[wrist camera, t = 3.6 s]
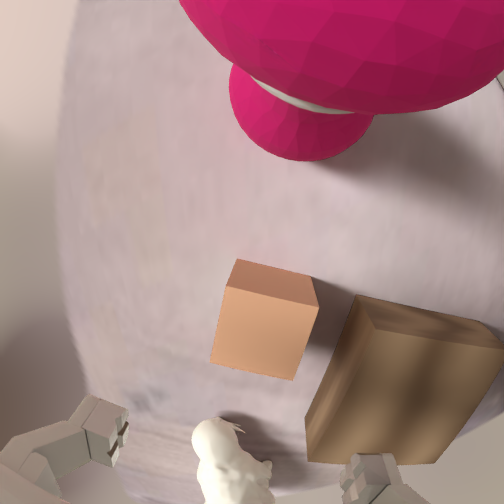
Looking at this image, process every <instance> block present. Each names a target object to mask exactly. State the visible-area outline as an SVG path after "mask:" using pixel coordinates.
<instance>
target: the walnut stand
mask: <svg viewBox="0 0 504 504" xmlns="http://www.w3.org/2000/svg"><path fill="white" fill-rule="evenodd" d="M503 363H504V344H503V343H502V342H501V341H500V340H499V339H498V338H497V337H496V336H495V335H494V334H492V333H491V332H490V331H489V330H488V329H487V328H486V327H485V326H484V325H483V324H482V323H481V322H480V321H476V320H471V319H466V318H461V317H457V316H452V315H447V314H443V313H438V312H433V311H429V310H424V309H419V308H415V307H410V306H406V305H401V304H397V303H392V302H388V301H383V300H379V299H374V298H370V297H365V296H361V295H357V294H356V297H355V299H354V302H353V305H352V308H351V310H350V313H349V316H348V318H347V321H346V324H345V326H344V329H343V331H342V334H341V336H340V339H339V341H338V344H337V346H336V349H335V351H334V354H333V356H332V359H331V361H330V363H329V366H328V368H327V370H326V373H325V375H324V377H323V379H322V382H321V384H320V386H319V388H318V391H317V393H316V395H315V397H314V399H313V402H312V404H311V406H310V408H309V410H308V412H307V414H306V416H305V429H306V443H307V458H308V462H318V463H330V464H346V465H347V464H349V463H351V460H350V458H351V457H352V455H353V454H355V453H392V454H393V456H394V458H395V461H396V464H397V465H416V464H431V463H435V462H436V461H437V460H438V458H439V457H440V456H441V455H442V454H443V452H444V451H445V450H446V449H447V447H448V446H449V445H450V443H451V442H452V441H453V440H454V438H455V437H456V436H457V435H458V433H459V432H460V431H461V429H462V428H463V426H464V425H465V424H466V422H467V421H468V419H469V418H470V417H471V415H472V414H473V412H474V411H475V409H476V408H477V406H478V405H479V403H480V402H481V400H482V399H483V397H484V396H485V394H486V392H487V391H488V389H489V388H490V386H491V384H492V383H493V381H494V379H495V378H496V376H497V374H498V372H499V371H500V369H501V367H502V365H503Z"/></svg>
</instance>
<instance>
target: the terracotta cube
mask: <svg viewBox="0 0 504 504" xmlns="http://www.w3.org/2000/svg"><path fill="white" fill-rule="evenodd" d="M318 310H319V305H318V301H317V297H316V294H315V290H314V287H313V283H312V280H311V276H307V275H303V274H299V273H295V272H291V271H286V270H282V269H278V268H274V267H270V266H266V265H261V264H257V263H253V262H249V261H245V260H241V259H237V260H236V262H235V265H234V267H233V270H232V272H231V274H230V277H229V279H228V282H227V284H226V287H225V292H224V297H223V301H222V306H221V311H220V315H219V320H218V325H217V330H216V334H215V339H214V344H213V349H212V354H211V358H210V363H214V364H218V365H222V366H226V367H230V368H235V369H239V370H243V371H248V372H252V373H257V374H261V375H266V376H271V377H276V378H281V379H286V380H292V381H293V379H294V376H295V374H296V371H297V368H298V366H299V363H300V361H301V358H302V355H303V352H304V350H305V347H306V344H307V342H308V339H309V336H310V333H311V330H312V327H313V325H314V322H315V319H316V316H317V313H318Z"/></svg>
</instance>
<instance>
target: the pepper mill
mask: <svg viewBox="0 0 504 504" xmlns="http://www.w3.org/2000/svg"><path fill="white" fill-rule="evenodd" d="M179 2H180V4H181V6H182V7H183V9H184V10H185V12H186V14H187V15H188V17H189V18H190V20H191V21H192V22H193V23H194V25H195V26H196V27H197V28H198V29H199V31H200V32H201V33H202V34H203V36H204V37H205V38H206V39H207V40H208V41H209V42H210V43H211V44H212V45H213V46H214V47H215V49H216V50H217V51H218V52H219V53H220V54H221V55H222V56H224V57H225V58H227V59H228V60H229V61H231V62H232V63H234V64H233V66H232V69H231V73H230V78H229V93H230V100H231V104H232V108H233V111H234V115H235V117H236V119H237V121H238V123H239V125H240V127H241V128H242V129H243V130H244V132H245V133H246V134H247V135H248V137H249V138H250V139H251V140H253V141H254V142H255V143H256V144H257V145H258V146H260V147H261V148H263V149H264V150H266V151H267V152H270V153H272V154H274V155H276V156H278V157H282V158H285V159H288V160H295V161H317V160H323V159H326V158H329V157H333V156H335V155H337V154H339V153H341V152H343V151H344V150H346V149H347V148H349V147H350V146H351V145H353V144H354V143H355V142H357V141H358V140H359V139H360V138H361V137H362V136H363V134H364V133H365V132H366V130H367V129H368V127H369V126H370V124H371V122H372V119H373V116H374V115H377V114H394V113H408V112H417V111H424V110H431V109H437V108H439V107H442V106H444V105H447V104H449V103H452V102H454V101H457V100H459V99H462V98H464V97H467V96H469V95H471V94H472V93H474V92H476V91H477V90H479V89H481V88H482V87H484V86H486V85H487V84H489V83H490V82H491V81H492V80H493V79H494V78H495V77H496V76H498V75H499V74H500V73H501V72H502V71H503V70H504V0H179Z"/></svg>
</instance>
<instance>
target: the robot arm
mask: <svg viewBox="0 0 504 504" xmlns="http://www.w3.org/2000/svg"><path fill="white" fill-rule="evenodd" d="M128 416H129V415H128V409H126V408H123V407H121V406H118V405H115V404H113V403H110V402H108V401H106V400H103V399H101V398H98V397H96V396H93V395H91V394H89V395H87V396H86V397H85V398H84V399H83V401H82V402H81V404H80V405H79V406H78V408H77V409H76V411H75V412H74V413H73V415H72V416H71V418H70V419H69V420H68V422H67V421H65V420H63V421H61V422H57V423H55V424H52V425H49V426H46V427H43V428H40V429H37V430H34V431H31V432H27V433H25V434H21V435H18V436H15V437H13V438H12V439H11V440H10V441H9V442H8V444H7V445H6V446H5V448H4V449H3V450H2V451H1V453H0V504H71V503H68V502H66V501H65V500H63V499H61V496H62V493H61V491H60V489H59V486H58V484H57V482H56V479H58V478H60V477H62V476H64V475H66V474H68V473H70V472H72V471H73V470H75V469H77V468H79V467H81V466H83V465H84V464H86V463H88V462H90V461H91V460H93V461H96V462H98V463H101V464H104V465H106V466H109V467H112V468H113V467H114V465H115V462H116V460H117V458H118V456H119V448H121V447H123V446H124V444H125V442H126V439H127V436H128V430H129V424H128V422H127V421H126V420H127V418H128ZM350 460H351V463H349V464H347V465H345V467H344V468H343V470H342V472H341V475H340V487H341V488H342V489H343V490H344V491H345V492H344V494H343V496H342V499H343V504H430V503H429V502H428V501H426V500H425V499H424V498H423V497H421V496H420V495H419V494H418V493H417V492H415V491H414V490H413V489H412V488H411V487H409V486H408V485H407V484H403V482H402V479H401V476H400V473H399V470H398V467H397V464H396V461H395V458H394V456H393V454H392V453H355V454H353V455H352V457H351V458H350Z"/></svg>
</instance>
